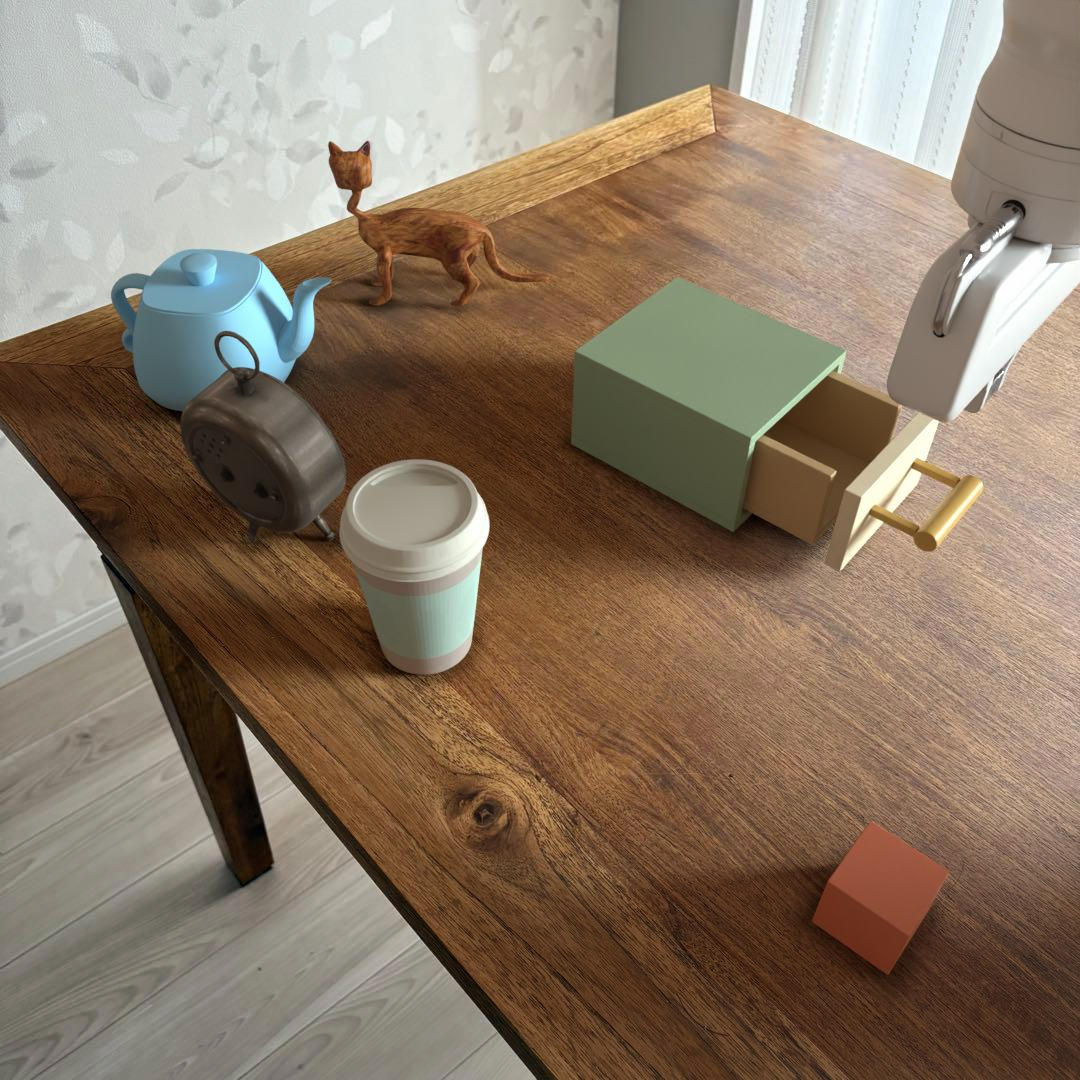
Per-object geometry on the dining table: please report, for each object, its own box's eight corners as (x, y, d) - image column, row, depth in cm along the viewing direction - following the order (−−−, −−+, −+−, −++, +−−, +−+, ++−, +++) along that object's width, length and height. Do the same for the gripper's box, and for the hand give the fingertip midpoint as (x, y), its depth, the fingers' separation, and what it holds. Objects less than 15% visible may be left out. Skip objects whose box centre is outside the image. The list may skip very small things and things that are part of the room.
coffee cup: (518, 621, 72) (517, 484, 63) (444, 714, 67) (432, 579, 58) (410, 571, 75) (395, 434, 66) (331, 657, 70) (303, 520, 61)
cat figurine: (547, 270, 101) (550, 124, 91) (551, 311, 96) (554, 162, 87) (349, 273, 100) (329, 127, 91) (343, 315, 96) (322, 166, 86)
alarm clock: (360, 532, 77) (330, 339, 66) (309, 580, 74) (268, 386, 63) (243, 474, 81) (195, 283, 70) (189, 518, 78) (131, 325, 67)
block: (927, 912, 58) (950, 871, 55) (887, 975, 56) (909, 936, 53) (852, 862, 60) (870, 820, 57) (811, 921, 58) (827, 881, 55)
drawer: (980, 513, 78) (1010, 439, 73) (905, 607, 72) (933, 533, 67) (758, 407, 86) (771, 334, 81) (673, 483, 80) (682, 409, 75)
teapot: (305, 321, 77) (58, 297, 78) (325, 439, 84) (99, 415, 86) (353, 228, 85) (130, 208, 87) (367, 343, 93) (162, 323, 95)
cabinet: (823, 443, 84) (847, 350, 78) (733, 532, 78) (751, 438, 72) (667, 367, 91) (677, 276, 85) (570, 444, 84) (574, 350, 78)
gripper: (1028, 282, 46) (942, 520, 56) (1192, 114, 57) (1096, 338, 67) (890, 231, 49) (831, 466, 59) (1071, 81, 60) (996, 300, 70)
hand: (973, 397), depth 63 cm, fingers closed
